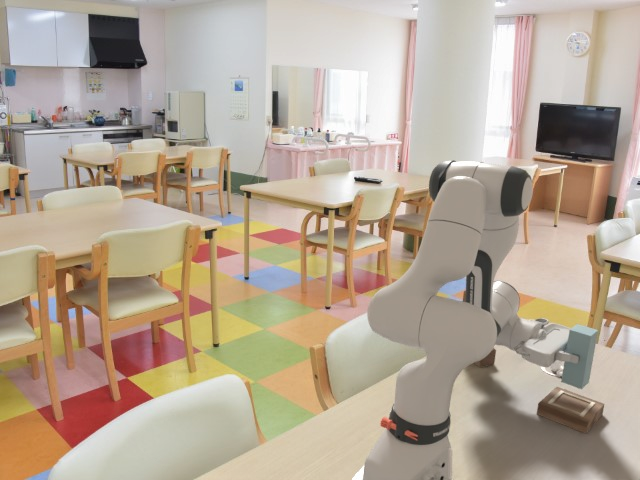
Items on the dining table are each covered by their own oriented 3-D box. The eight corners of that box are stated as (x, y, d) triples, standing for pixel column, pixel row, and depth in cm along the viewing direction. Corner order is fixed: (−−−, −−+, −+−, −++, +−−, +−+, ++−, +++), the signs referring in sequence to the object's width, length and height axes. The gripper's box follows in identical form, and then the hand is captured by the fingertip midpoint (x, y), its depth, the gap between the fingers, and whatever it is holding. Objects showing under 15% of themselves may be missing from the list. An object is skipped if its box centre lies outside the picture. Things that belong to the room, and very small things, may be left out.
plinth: (585, 433, 141) (588, 421, 140) (536, 413, 149) (538, 402, 148) (602, 414, 150) (604, 402, 149) (555, 396, 158) (557, 385, 157)
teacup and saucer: (573, 380, 168) (575, 367, 167) (543, 377, 169) (545, 364, 168) (566, 366, 176) (568, 354, 175) (538, 363, 177) (540, 351, 176)
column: (581, 389, 144) (591, 336, 140) (561, 381, 147) (569, 329, 143) (588, 382, 148) (598, 330, 144) (568, 375, 151) (577, 323, 147)
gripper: (512, 338, 145) (569, 357, 136) (545, 316, 160) (599, 331, 151) (509, 361, 147) (565, 381, 138) (542, 337, 162) (595, 354, 153)
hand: (583, 355), depth 145 cm, fingers closed on column, 5 cm apart
